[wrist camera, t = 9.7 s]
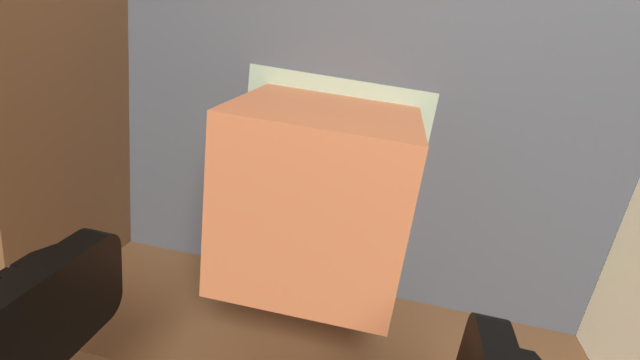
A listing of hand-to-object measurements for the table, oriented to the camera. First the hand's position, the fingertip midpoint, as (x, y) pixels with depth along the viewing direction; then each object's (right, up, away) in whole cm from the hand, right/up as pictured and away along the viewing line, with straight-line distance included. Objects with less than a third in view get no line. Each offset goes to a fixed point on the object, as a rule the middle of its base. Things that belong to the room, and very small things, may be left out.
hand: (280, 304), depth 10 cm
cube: (+1, +3, +8) cm, 9 cm away
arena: (+2, +5, +9) cm, 10 cm away
